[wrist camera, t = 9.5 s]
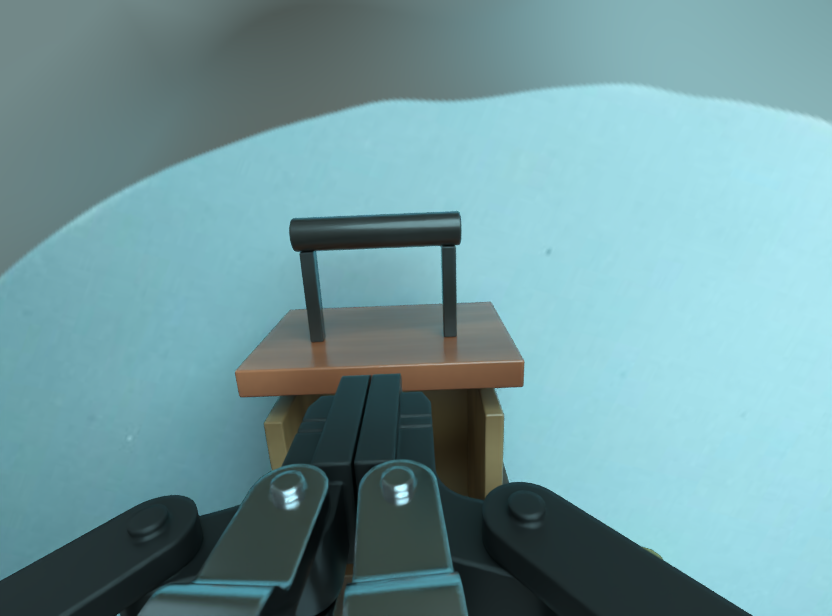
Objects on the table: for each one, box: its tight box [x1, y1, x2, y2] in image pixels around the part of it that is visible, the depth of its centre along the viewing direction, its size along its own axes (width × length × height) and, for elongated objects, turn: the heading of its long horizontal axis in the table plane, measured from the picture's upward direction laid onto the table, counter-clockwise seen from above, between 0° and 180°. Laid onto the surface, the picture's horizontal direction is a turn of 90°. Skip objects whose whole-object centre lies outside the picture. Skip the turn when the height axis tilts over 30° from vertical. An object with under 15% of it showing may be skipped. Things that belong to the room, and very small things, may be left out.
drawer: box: [235, 211, 524, 500], centre depth 22 cm, size 19×11×8 cm, turn 2°
